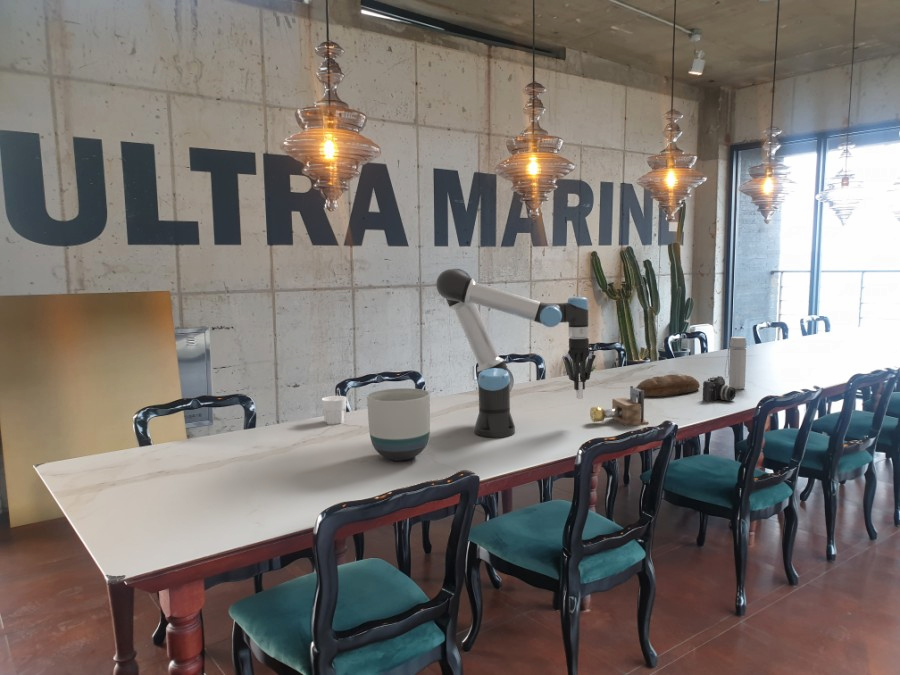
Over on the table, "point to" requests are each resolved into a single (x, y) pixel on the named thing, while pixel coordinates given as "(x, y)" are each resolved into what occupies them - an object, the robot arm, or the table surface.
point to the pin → (604, 413)
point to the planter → (399, 422)
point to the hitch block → (630, 410)
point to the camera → (717, 390)
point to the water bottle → (737, 362)
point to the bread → (668, 385)
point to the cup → (334, 409)
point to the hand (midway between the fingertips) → (579, 398)
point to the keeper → (633, 395)
